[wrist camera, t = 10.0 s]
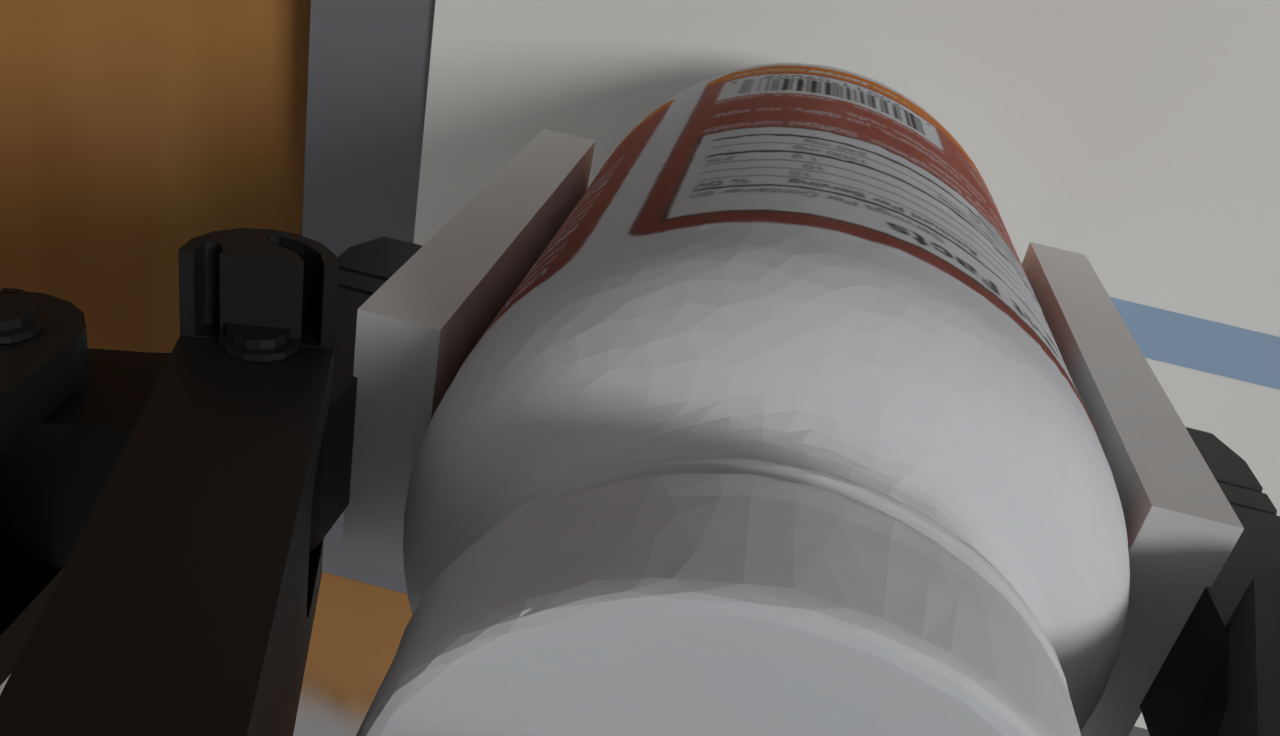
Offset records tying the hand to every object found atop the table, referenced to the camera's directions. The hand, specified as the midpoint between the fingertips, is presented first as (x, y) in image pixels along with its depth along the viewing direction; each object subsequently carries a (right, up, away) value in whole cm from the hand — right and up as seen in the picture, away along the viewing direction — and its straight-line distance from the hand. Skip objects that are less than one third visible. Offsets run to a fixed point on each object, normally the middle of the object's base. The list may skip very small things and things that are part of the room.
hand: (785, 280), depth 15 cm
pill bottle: (0, 0, +1) cm, 1 cm away
